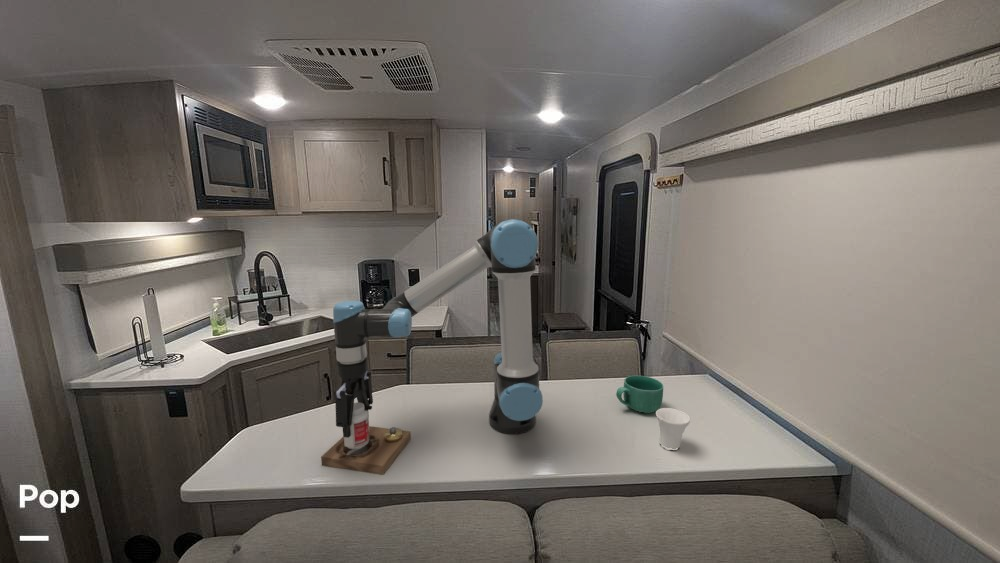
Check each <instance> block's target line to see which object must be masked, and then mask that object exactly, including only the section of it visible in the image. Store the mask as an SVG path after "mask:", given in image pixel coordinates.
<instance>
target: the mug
mask: <svg viewBox="0 0 1000 563" xmlns="http://www.w3.org/2000/svg"><path fill="white" fill-rule="evenodd" d="M615 394H616V398H617V399H618V401H619V402H620V403H621V404H623V405H624V406H628V408H631V410H633V409H634V410H633V411H635V410H636V411H635V412H637V411H639V412H638V413H640V412H644V413H643V414H651V413H654V412H655V413H656V411H657V410H658V409H661V408H662V403H663V399H664V398H663V397H664V384H663V382H662V381H660V380H658V379H656V378H653V377H650V376H644V375H629V376H626V377H625V378H624V381H623V386H621V387H618V389H617V390H616V393H615ZM622 395H623V398H622Z"/></svg>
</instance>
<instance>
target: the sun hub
mask: <svg viewBox="0 0 1000 563" xmlns="http://www.w3.org/2000/svg"><path fill="white" fill-rule="evenodd" d="M401 438H402V429H401V428H398V427H394V426H392V427H389V428H388V430H387V431H385V432H384V440H385V441H386V442H388V443H393V442H397V441H399V440H400V439H401Z"/></svg>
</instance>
